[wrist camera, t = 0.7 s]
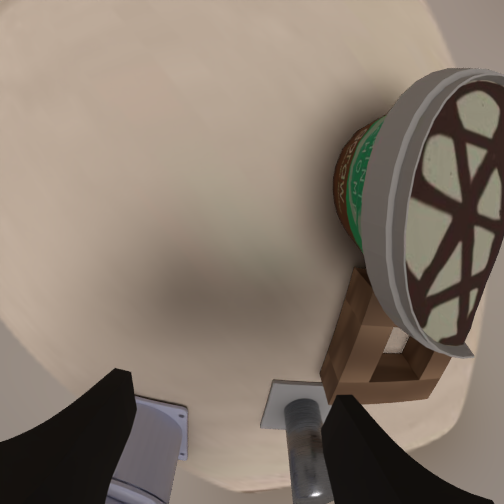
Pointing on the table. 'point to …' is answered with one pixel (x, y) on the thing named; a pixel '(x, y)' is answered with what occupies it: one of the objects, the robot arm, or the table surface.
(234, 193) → the table surface
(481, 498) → the robot arm
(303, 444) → the peg
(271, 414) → the mat
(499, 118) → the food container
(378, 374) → the hole block
